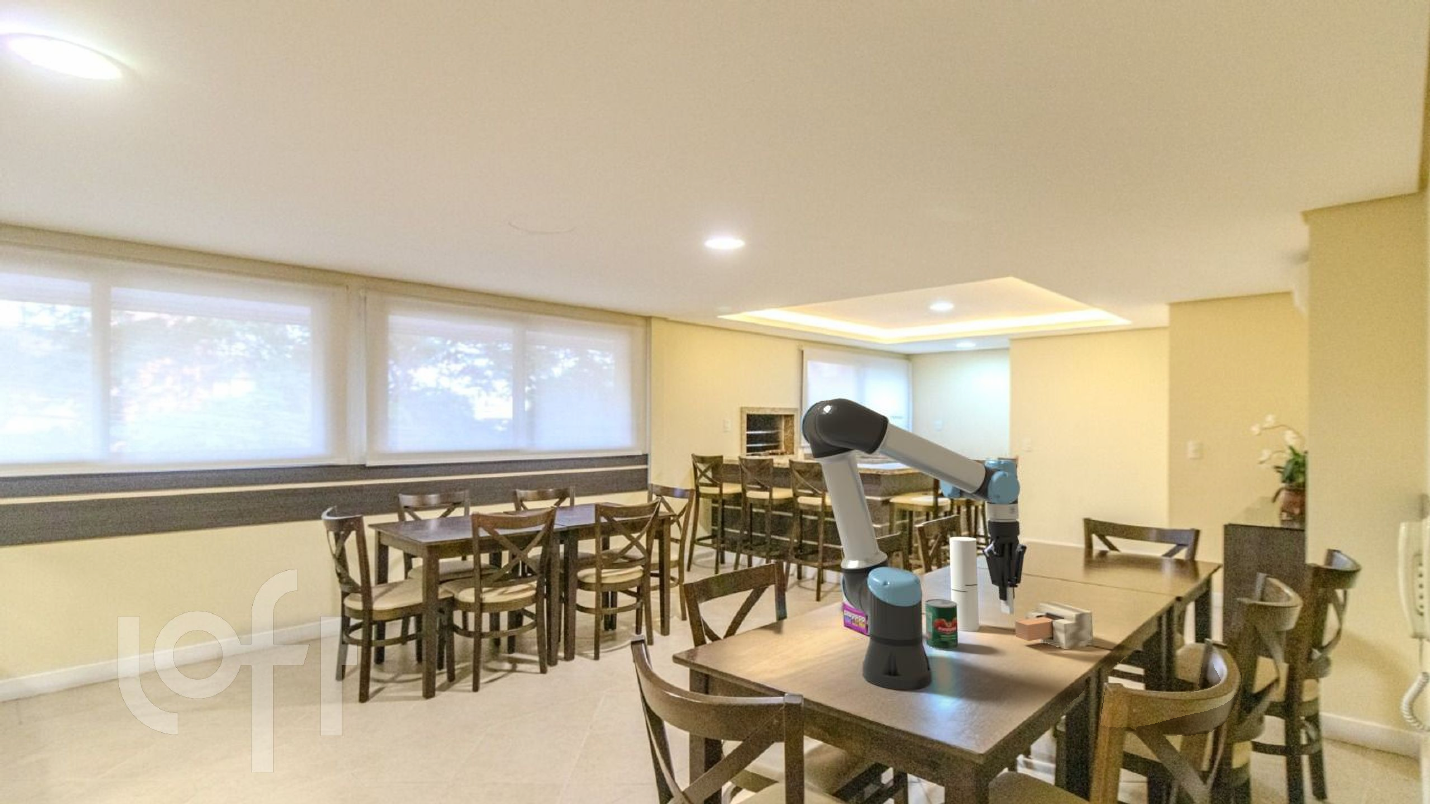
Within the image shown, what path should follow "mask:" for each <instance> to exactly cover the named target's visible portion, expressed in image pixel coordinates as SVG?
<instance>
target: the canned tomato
mask: <svg viewBox="0 0 1430 804" xmlns="http://www.w3.org/2000/svg"><path fill="white" fill-rule="evenodd" d="M924 603H925V641H926V643H925V645H926V646H927V647H928V646H929V647H928V648H930V647H932V648H931V649H933V648H935V649H934V650H937V649H938V650H939V651H954V650H956V649H958V648H959V636H958V634H959V633H958V632H959V630H958V628H957V627H958V626H957V624H958V623H957V603H956V602H954V601H951V599H944V598H931V599H927V600H925V601H924Z"/></svg>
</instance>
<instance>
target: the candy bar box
mask: <svg viewBox="0 0 1430 804" xmlns="http://www.w3.org/2000/svg"><path fill="white" fill-rule="evenodd" d="M842 600H843V601H842V604H843V605H842V606H843V607H842V608H843V610H842V612H843V617H842V618H843V626H844V627H846V628H848V629H850V630H852V629H853V630H852V631H855V632H858V633H860V634H862V635H864V636H870V631H869V617H868V616H867V615H865V614H864V613H862V612H861V611H859V610H857V609H855V608H854V607H853V606H852V605H851V604H850V603H849V602H848V601H847V599H846V598H845V596H844V594H843V593H842Z"/></svg>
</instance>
